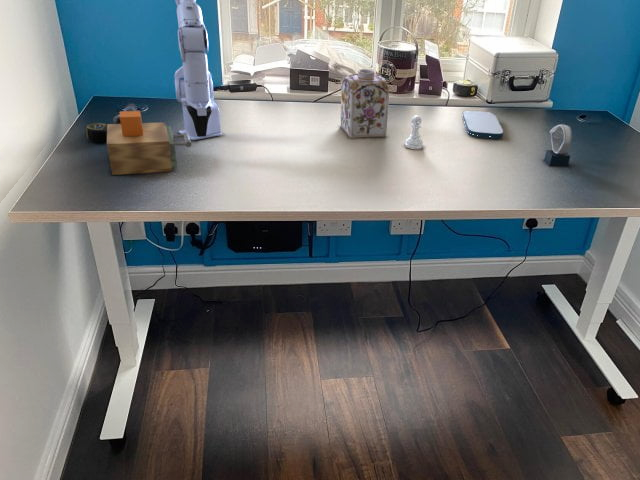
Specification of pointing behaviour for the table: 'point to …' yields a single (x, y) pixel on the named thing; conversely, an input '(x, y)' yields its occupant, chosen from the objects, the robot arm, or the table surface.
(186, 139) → the drawer
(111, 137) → the cabinet
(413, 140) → the chess pawn
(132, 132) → the plain orange block
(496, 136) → the external hard drive
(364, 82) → the decorative jar
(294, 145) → the table surface
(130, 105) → the eagle figurine
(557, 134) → the watch
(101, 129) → the tape measure
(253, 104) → the table surface
